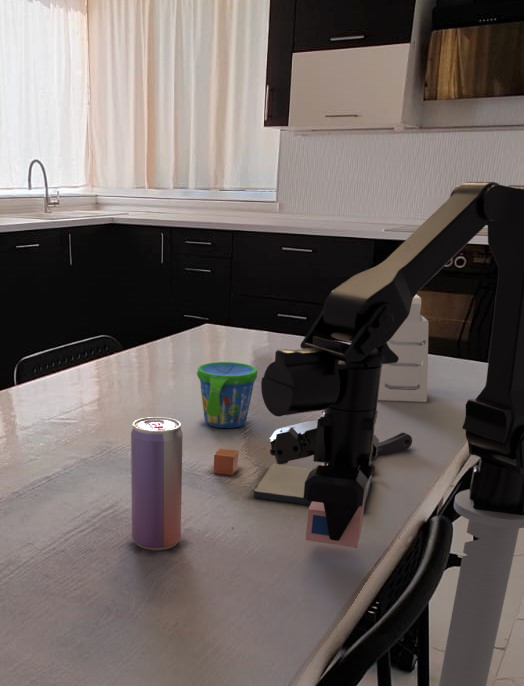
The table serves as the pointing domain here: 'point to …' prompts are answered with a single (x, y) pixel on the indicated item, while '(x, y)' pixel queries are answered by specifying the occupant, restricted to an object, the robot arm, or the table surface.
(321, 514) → the eraser
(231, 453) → the clay cube
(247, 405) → the snack cup
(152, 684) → the table surface
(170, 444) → the beverage can
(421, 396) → the grater
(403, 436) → the squeegee
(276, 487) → the tray
